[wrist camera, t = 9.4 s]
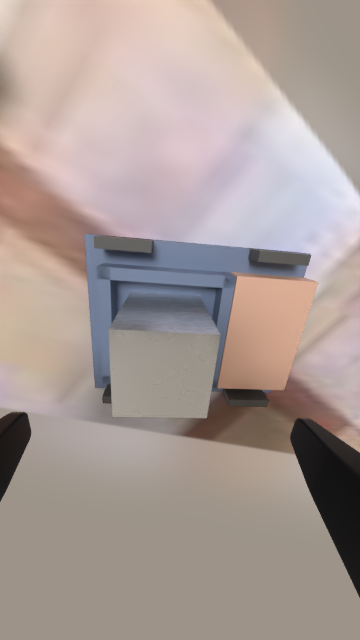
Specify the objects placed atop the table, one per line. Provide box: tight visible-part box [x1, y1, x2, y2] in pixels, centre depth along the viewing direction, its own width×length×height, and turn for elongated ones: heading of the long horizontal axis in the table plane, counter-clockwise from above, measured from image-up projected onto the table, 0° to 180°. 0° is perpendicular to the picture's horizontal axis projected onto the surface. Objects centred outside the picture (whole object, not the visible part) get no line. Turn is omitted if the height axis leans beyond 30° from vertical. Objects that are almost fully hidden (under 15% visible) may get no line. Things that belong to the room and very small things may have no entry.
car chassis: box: [84, 234, 318, 407], centre depth 15 cm, size 14×11×3 cm
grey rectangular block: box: [109, 291, 221, 418], centre depth 12 cm, size 4×4×6 cm
